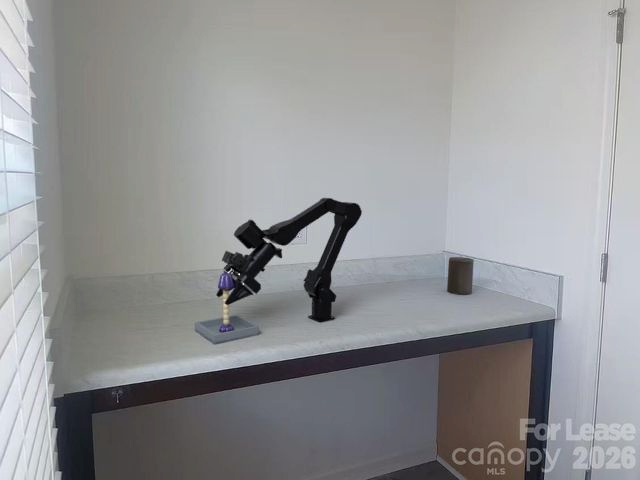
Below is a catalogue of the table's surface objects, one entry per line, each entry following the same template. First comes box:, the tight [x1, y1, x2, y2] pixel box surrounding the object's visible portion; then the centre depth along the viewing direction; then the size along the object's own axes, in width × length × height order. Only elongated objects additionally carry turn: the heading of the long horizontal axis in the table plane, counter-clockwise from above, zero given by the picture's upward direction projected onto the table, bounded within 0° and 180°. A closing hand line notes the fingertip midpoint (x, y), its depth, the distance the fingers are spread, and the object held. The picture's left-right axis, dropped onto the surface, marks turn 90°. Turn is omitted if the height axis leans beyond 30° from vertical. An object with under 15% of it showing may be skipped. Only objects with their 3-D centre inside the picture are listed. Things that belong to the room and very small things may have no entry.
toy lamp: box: [217, 272, 234, 333], centre depth 131 cm, size 5×5×17 cm
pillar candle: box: [446, 256, 475, 296], centre depth 185 cm, size 10×10×15 cm
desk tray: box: [194, 314, 260, 346], centre depth 132 cm, size 14×14×2 cm
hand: (221, 300), depth 130 cm, fingers open, 9 cm apart
